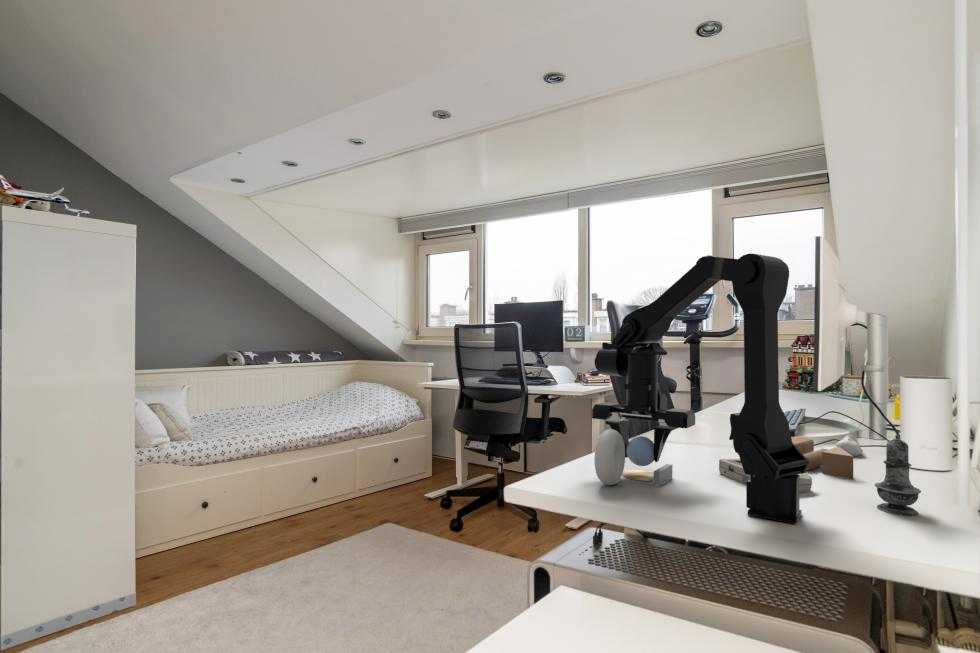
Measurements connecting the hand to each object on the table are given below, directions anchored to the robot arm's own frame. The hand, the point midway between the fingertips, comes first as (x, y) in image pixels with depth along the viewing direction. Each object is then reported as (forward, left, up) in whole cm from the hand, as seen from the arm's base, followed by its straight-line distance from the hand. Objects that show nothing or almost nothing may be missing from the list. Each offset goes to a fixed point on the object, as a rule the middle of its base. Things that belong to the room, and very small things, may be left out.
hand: (641, 459), depth 104 cm
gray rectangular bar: (-5, +1, -3) cm, 6 cm away
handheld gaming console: (-20, -11, -4) cm, 23 cm away
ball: (0, 0, +2) cm, 2 cm away
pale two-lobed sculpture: (-31, -52, -4) cm, 61 cm away
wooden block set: (-27, -34, -4) cm, 44 cm away
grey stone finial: (-39, -6, -3) cm, 40 cm away
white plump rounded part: (+2, +9, -3) cm, 10 cm away
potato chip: (0, 0, -3) cm, 3 cm away
